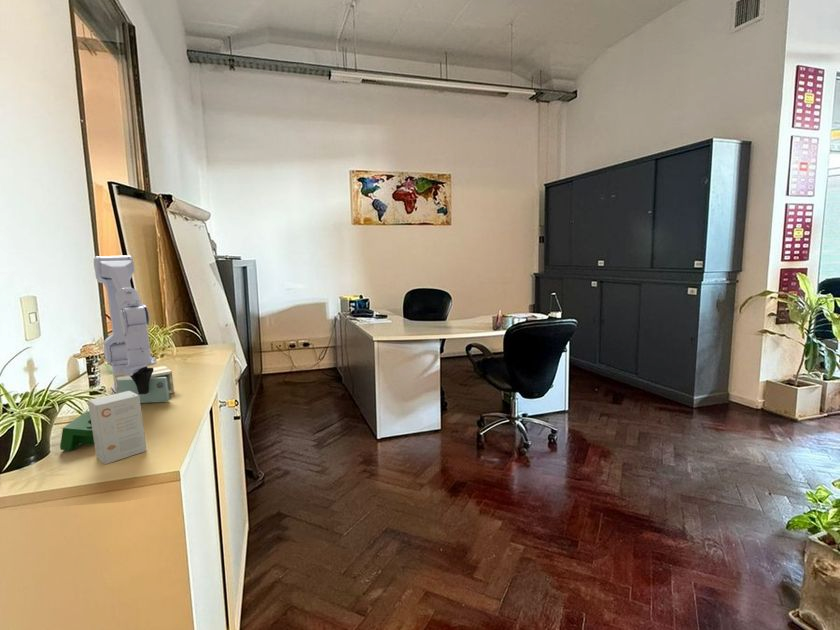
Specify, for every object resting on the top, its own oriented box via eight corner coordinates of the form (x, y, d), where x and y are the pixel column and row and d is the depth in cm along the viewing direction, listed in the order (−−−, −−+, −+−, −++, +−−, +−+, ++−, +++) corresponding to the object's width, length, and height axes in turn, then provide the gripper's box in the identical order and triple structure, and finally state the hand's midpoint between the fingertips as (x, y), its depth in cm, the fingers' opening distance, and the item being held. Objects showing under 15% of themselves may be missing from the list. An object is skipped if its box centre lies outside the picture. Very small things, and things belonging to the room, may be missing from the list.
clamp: (91, 464, 103) (89, 436, 98) (61, 462, 101) (58, 433, 97) (114, 427, 113) (113, 400, 109) (87, 425, 111) (85, 397, 107)
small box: (137, 444, 103) (130, 389, 101) (147, 451, 98) (140, 394, 97) (95, 457, 96) (87, 399, 95) (104, 465, 92) (95, 405, 91)
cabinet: (117, 395, 140) (114, 374, 139) (166, 385, 149) (164, 365, 148) (122, 403, 133) (119, 380, 132) (174, 392, 142) (171, 371, 141)
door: (123, 402, 132) (119, 379, 131) (169, 400, 133) (166, 376, 132) (119, 404, 131) (116, 380, 130) (166, 402, 131) (163, 378, 130)
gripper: (140, 352, 121) (146, 400, 123) (164, 342, 136) (169, 385, 137) (112, 354, 120) (119, 402, 122) (139, 343, 135) (145, 386, 137)
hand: (143, 393), depth 130 cm, fingers closed
